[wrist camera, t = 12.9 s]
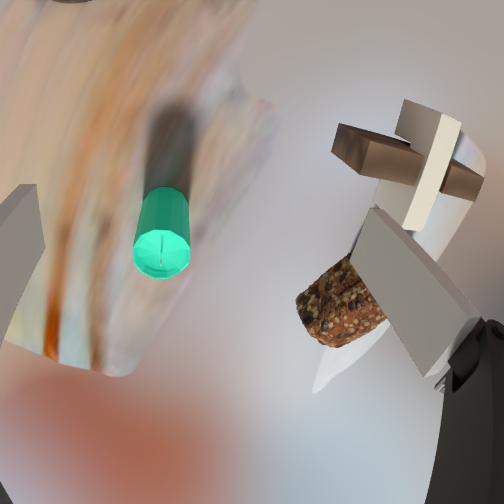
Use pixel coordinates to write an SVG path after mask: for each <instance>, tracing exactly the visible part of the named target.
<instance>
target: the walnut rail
mask: <svg viewBox="0 0 504 504" xmlns="http://www.w3.org/2000/svg"><path fill="white" fill-rule="evenodd" d="M410 144H411V143H407V142H405V141H401V140H398V139H395V138H392V137H389V136H385V135H382V134H378V133H374V132H371V131H367V130H363V129H360V128H356V127H352V126H348V125H344V124H340V123H339V124H338V128H337V133H336V136H335V139H334V143H333V147H332V151H331V152H332V153H333V154H334V155H336V156H337V157H338V158H340V159H341V160H342V161H343V162H345V163H346V164H347V165H348V166H350V167H351V168H352V169H353V170H355V171H356V172H357V173H358V174H360V175H363V176H368V177H373V178H379V179H383V180H388V181H393V182H397V183H402V184H406V185H411V186H414V185H415V183H416V180H417V177H418V174H419V171H420V169H421V166H422V163H423V160H424V156H423V155H421V154H419V153H418V152H416V151H414V150H412V149H411V148H409V147H410ZM483 181H484V178H483V177H482V176H480V175H479V174H477V173H476V172H474V171H473V170H471V169H469V168H468V167H466V166H464V165H463V164H461V163H460V162H458V161H456V160H455V159H453V158H451V159H450V161H449V164H448V167H447V170H446V173H445V175H444V178H443V181H442V183H441V186H440V188H439V191H440V192H441V193H444V194H447V195H451V196H455V197H459V198H462V199H466V200H470V201H473V202H475V201H476V198H477V196H478V193H479V191H480V189H481V186H482V184H483Z"/></svg>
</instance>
